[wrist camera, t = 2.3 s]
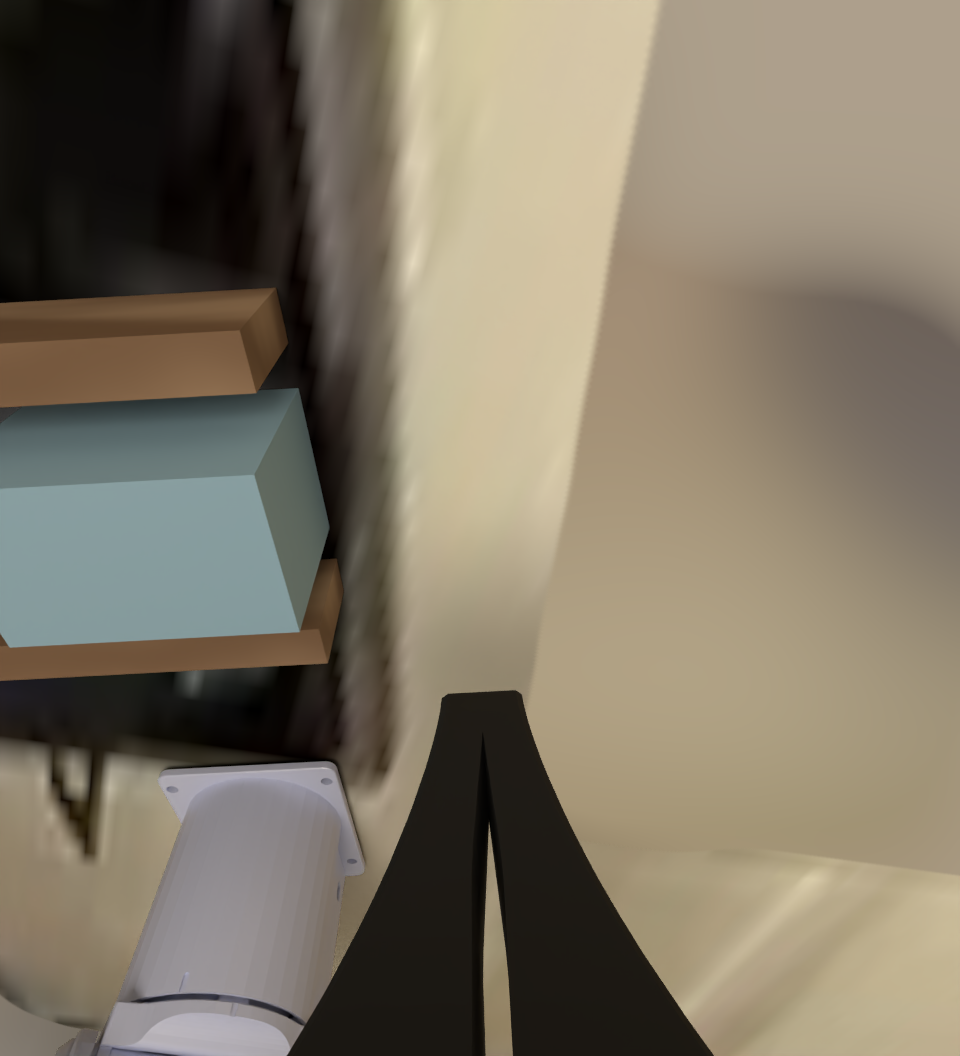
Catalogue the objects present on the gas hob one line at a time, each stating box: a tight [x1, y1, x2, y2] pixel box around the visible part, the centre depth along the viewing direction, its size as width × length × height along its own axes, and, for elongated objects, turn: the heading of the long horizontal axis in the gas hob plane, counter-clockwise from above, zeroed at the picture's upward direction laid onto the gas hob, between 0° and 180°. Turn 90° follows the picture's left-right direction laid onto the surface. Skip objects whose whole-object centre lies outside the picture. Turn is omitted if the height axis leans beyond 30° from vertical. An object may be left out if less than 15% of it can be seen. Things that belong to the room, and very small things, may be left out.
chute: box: [0, 288, 344, 681], centre depth 19 cm, size 11×12×4 cm
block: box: [0, 388, 329, 648], centre depth 18 cm, size 5×8×5 cm, turn 93°
